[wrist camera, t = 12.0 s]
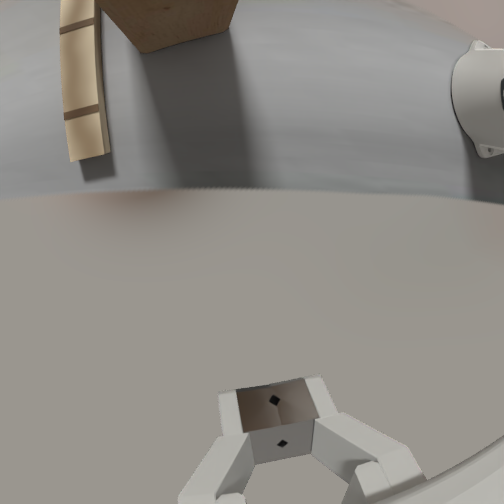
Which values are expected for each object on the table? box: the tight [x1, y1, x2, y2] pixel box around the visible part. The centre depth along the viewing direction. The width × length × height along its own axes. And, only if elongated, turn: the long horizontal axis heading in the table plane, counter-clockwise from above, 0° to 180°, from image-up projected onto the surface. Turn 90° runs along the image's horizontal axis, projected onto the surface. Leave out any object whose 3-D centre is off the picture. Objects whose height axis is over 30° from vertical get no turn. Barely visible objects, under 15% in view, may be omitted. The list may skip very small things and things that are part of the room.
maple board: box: [60, 0, 111, 162], centre depth 26 cm, size 4×21×3 cm, turn 5°
